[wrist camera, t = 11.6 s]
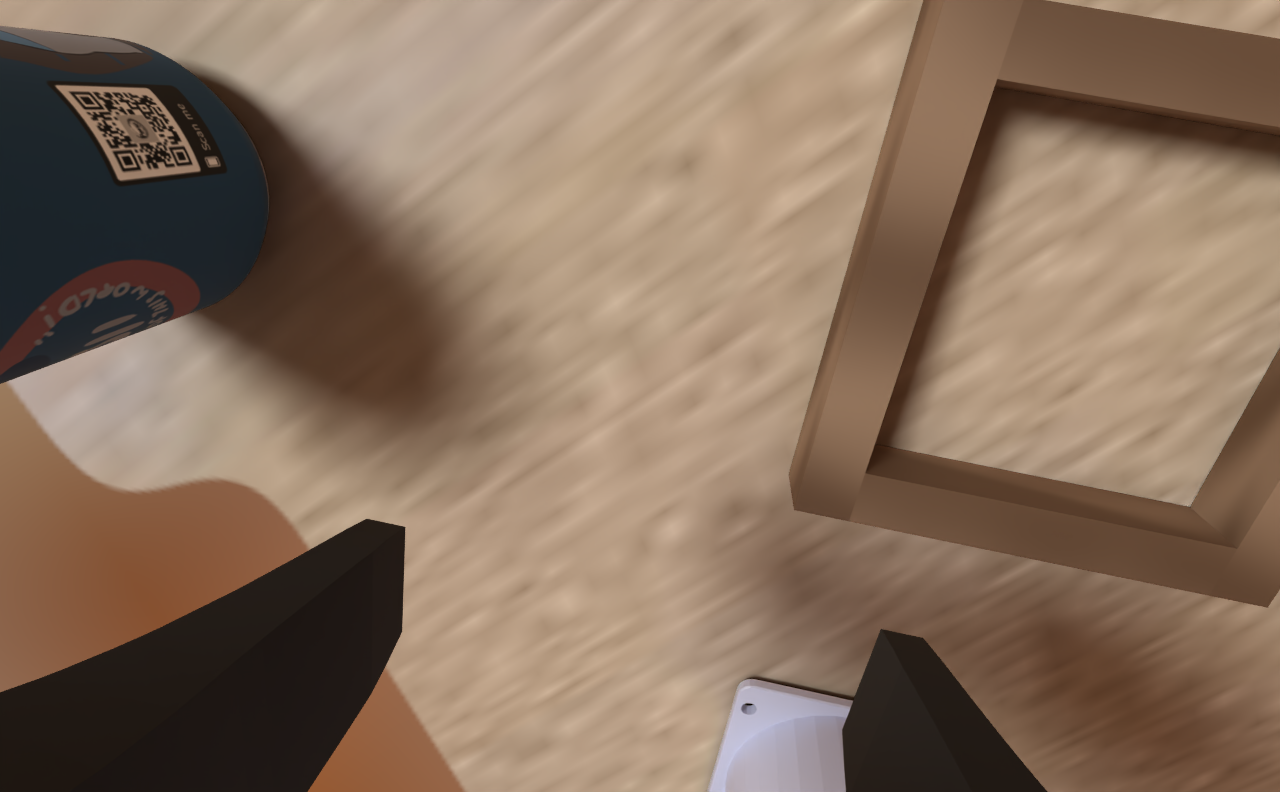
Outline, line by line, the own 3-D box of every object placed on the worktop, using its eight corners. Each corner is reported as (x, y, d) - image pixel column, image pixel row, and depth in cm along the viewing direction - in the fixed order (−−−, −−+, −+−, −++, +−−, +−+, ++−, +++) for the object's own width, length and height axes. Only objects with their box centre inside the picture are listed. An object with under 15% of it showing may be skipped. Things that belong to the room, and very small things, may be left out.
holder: (1218, 561, 20) (1267, 607, 18) (788, 473, 21) (793, 509, 19) (1501, 94, 15) (1607, 93, 13) (923, -1, 16) (948, -16, 14)
